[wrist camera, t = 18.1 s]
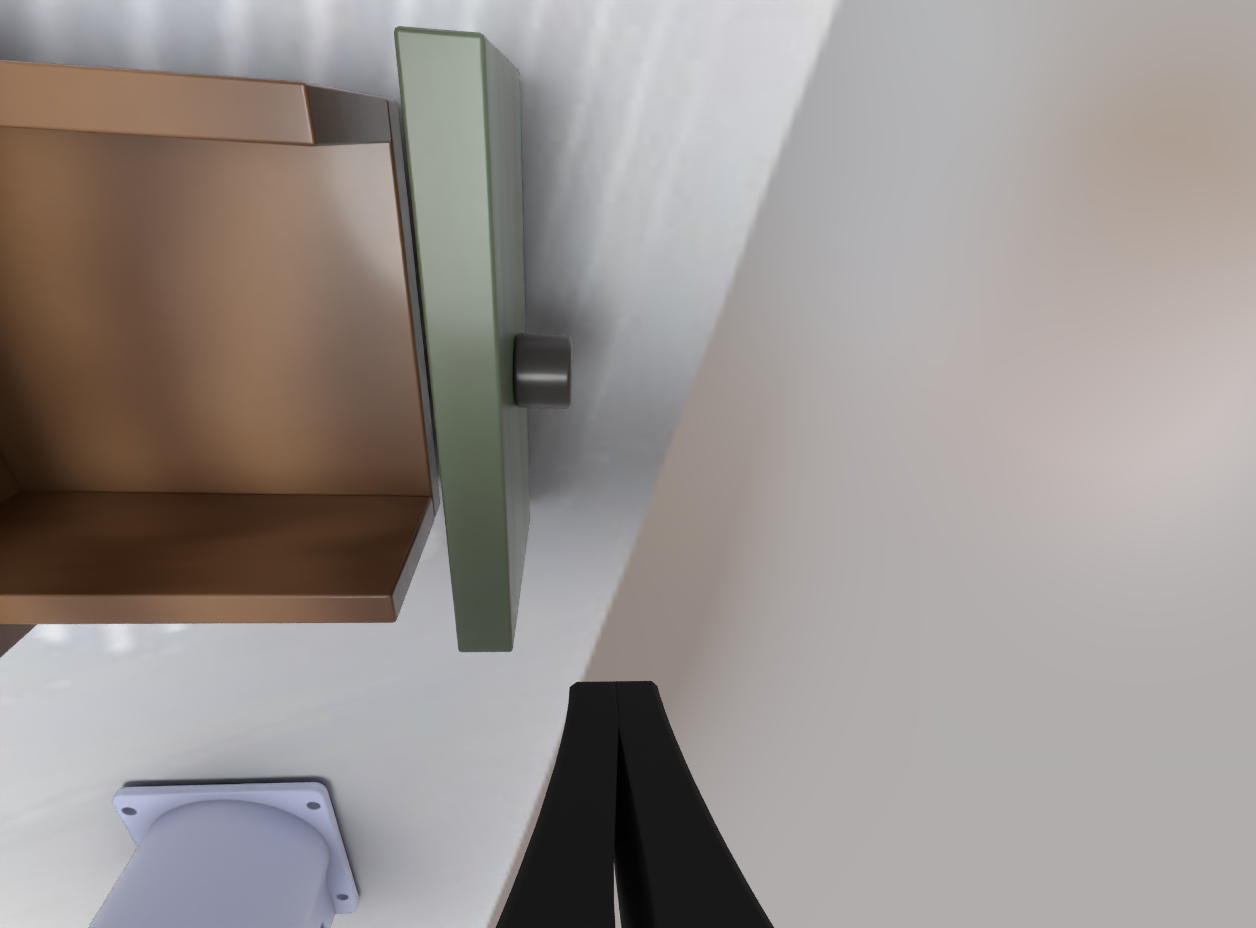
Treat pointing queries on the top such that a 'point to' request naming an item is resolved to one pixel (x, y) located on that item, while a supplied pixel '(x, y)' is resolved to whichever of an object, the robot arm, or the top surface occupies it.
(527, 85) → the top surface
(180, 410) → the drawer
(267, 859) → the robot arm
